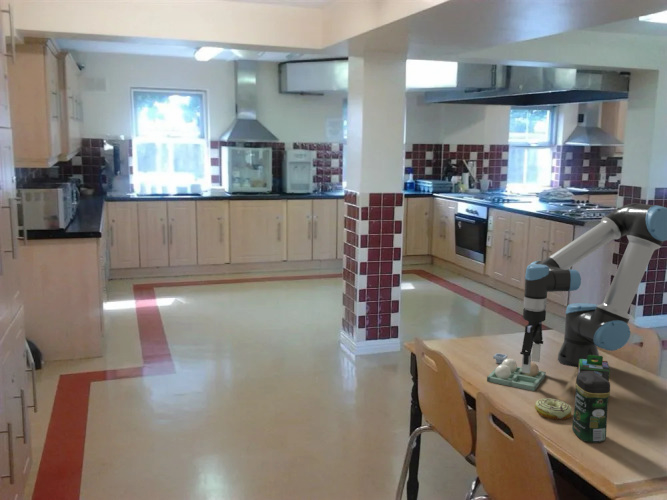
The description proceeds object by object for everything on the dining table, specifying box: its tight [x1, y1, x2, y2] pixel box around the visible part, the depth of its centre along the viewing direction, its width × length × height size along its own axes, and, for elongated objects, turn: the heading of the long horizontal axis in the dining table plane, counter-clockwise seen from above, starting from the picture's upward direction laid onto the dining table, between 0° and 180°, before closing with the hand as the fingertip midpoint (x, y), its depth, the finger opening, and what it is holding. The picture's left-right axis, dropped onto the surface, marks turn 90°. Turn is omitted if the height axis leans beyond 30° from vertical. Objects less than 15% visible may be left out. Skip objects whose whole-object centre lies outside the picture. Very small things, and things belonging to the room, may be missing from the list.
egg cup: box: [492, 352, 508, 364], centre depth 235 cm, size 4×4×4 cm
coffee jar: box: [571, 371, 611, 444], centre depth 176 cm, size 10×8×19 cm
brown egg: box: [524, 361, 540, 377], centre depth 220 cm, size 5×5×5 cm
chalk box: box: [577, 355, 611, 382], centre depth 205 cm, size 9×9×15 cm
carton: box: [486, 363, 547, 392], centre depth 218 cm, size 16×16×2 cm
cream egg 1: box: [501, 357, 518, 373], centre depth 223 cm, size 5×5×5 cm
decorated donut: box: [534, 397, 573, 421], centre depth 192 cm, size 10×11×4 cm
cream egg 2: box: [494, 364, 511, 380], centre depth 217 cm, size 5×5×5 cm
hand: (530, 366), depth 219 cm, fingers open, 13 cm apart
